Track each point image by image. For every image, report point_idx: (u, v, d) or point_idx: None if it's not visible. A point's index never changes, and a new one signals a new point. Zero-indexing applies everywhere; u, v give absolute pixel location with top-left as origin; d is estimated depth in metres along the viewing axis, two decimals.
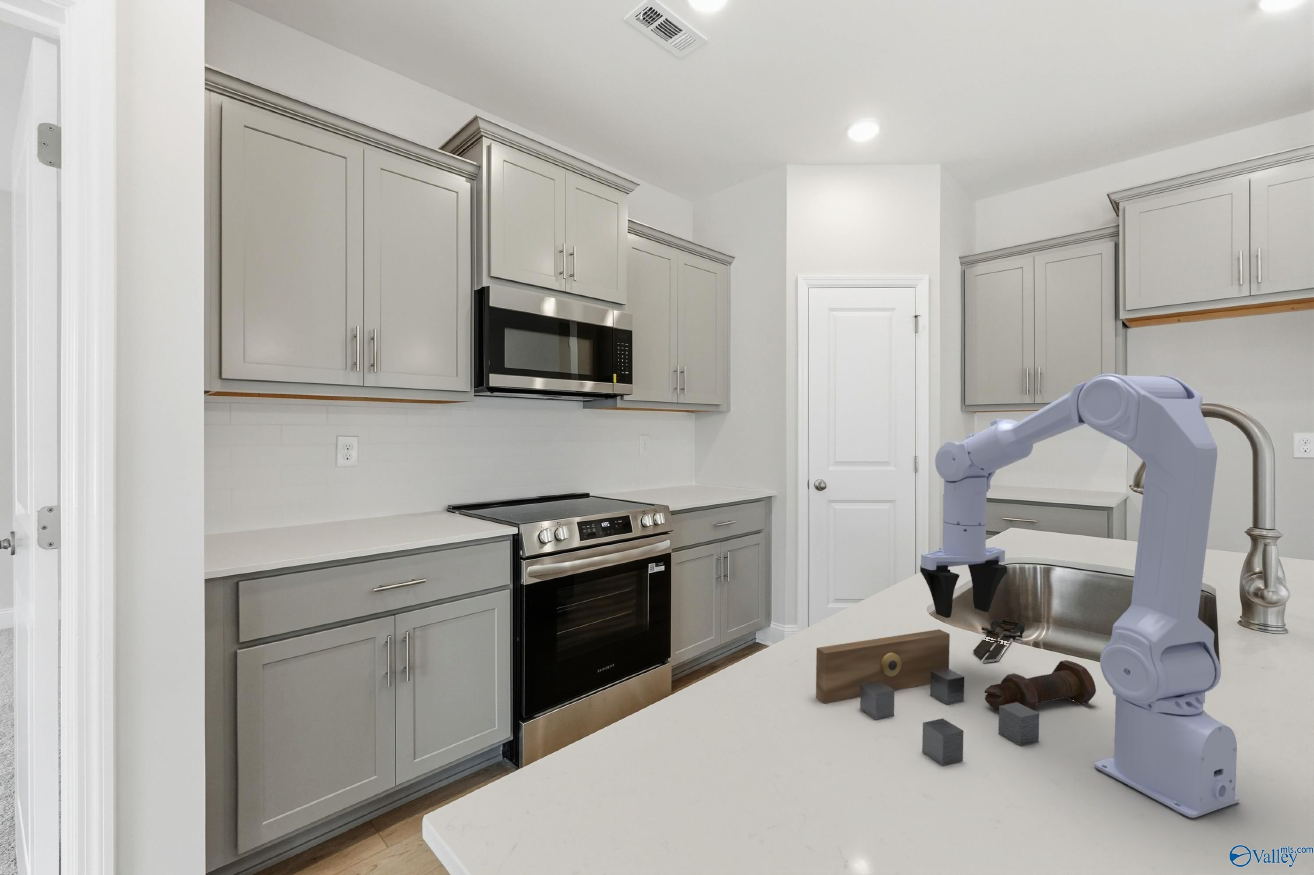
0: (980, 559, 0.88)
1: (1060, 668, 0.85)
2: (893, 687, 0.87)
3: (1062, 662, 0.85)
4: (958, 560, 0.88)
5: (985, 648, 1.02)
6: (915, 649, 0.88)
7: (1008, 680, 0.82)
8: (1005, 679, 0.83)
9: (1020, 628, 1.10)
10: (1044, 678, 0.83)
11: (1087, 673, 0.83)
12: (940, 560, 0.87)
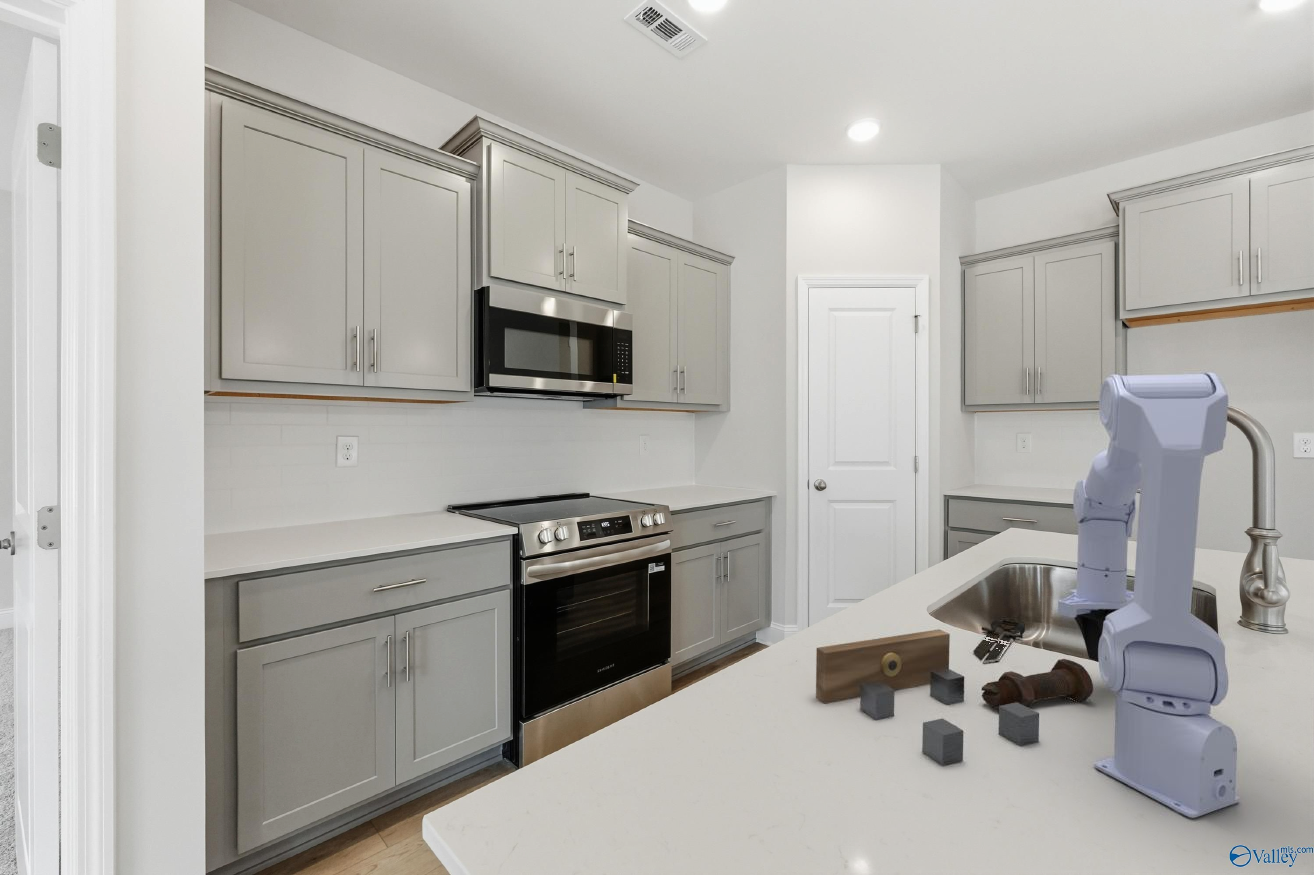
0: (1122, 606, 0.84)
1: (1058, 667, 0.86)
2: (893, 687, 0.87)
3: (1060, 661, 0.86)
4: (1099, 607, 0.84)
5: (985, 648, 1.02)
6: (915, 649, 0.88)
7: (1005, 678, 0.83)
8: (1002, 677, 0.83)
9: (1020, 628, 1.10)
10: (1041, 676, 0.83)
11: (1085, 672, 0.83)
12: (1081, 607, 0.83)
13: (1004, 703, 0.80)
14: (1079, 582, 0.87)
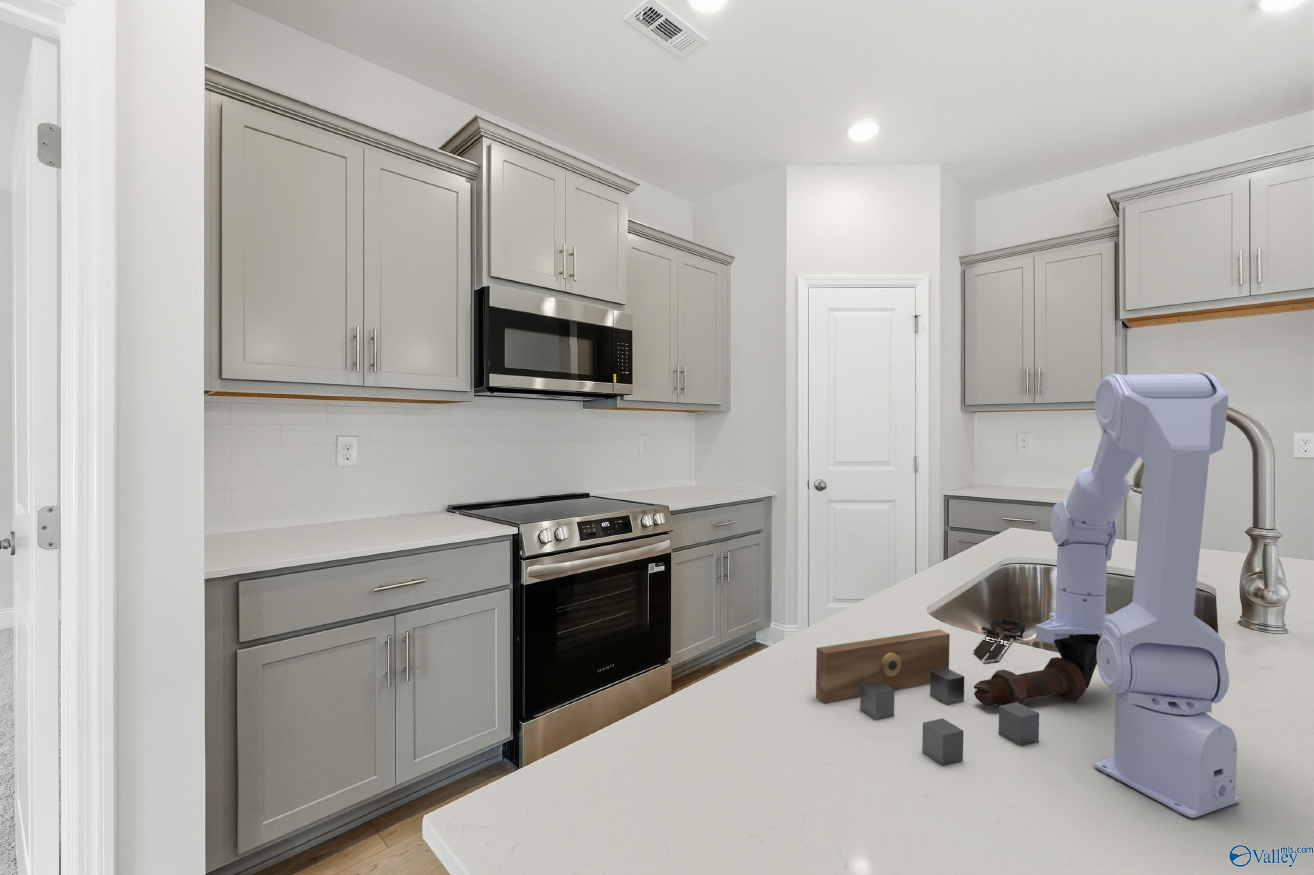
0: (1101, 631, 0.82)
1: (1051, 665, 0.86)
2: (893, 687, 0.87)
3: (1053, 659, 0.86)
4: (1078, 632, 0.82)
5: (985, 648, 1.02)
6: (915, 649, 0.88)
7: (997, 676, 0.83)
8: (995, 675, 0.83)
9: (1020, 628, 1.10)
10: (1034, 674, 0.83)
11: (1077, 670, 0.83)
12: (1058, 632, 0.82)
13: (996, 701, 0.80)
14: (1058, 606, 0.86)
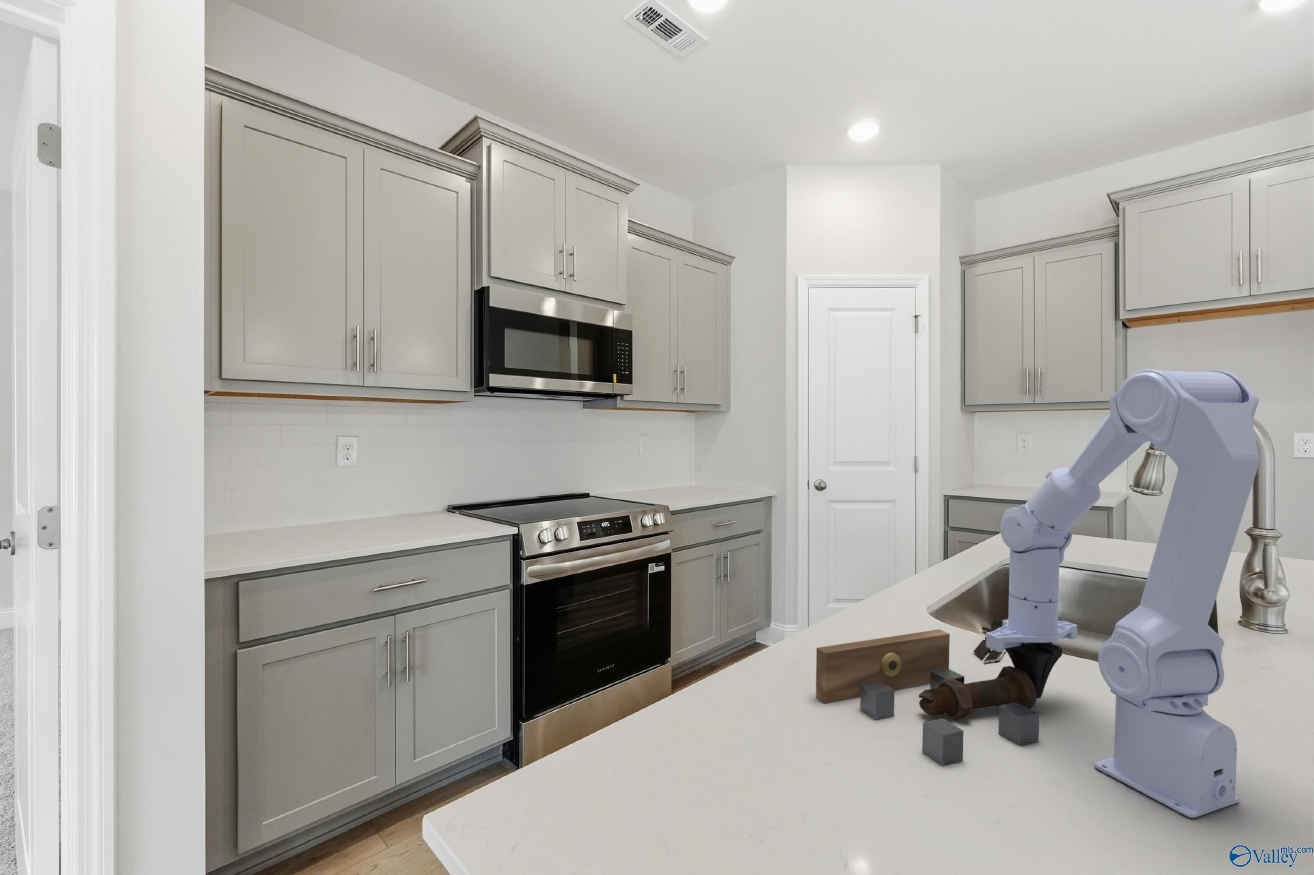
0: (1053, 639, 0.79)
1: (1003, 674, 0.83)
2: (893, 687, 0.87)
3: (1005, 668, 0.83)
4: (1028, 641, 0.79)
5: (986, 648, 1.02)
6: (915, 649, 0.88)
7: (944, 685, 0.80)
8: (941, 684, 0.80)
9: None
10: (982, 684, 0.80)
11: (1028, 680, 0.80)
12: (1008, 641, 0.79)
13: (940, 711, 0.77)
14: (1010, 613, 0.82)
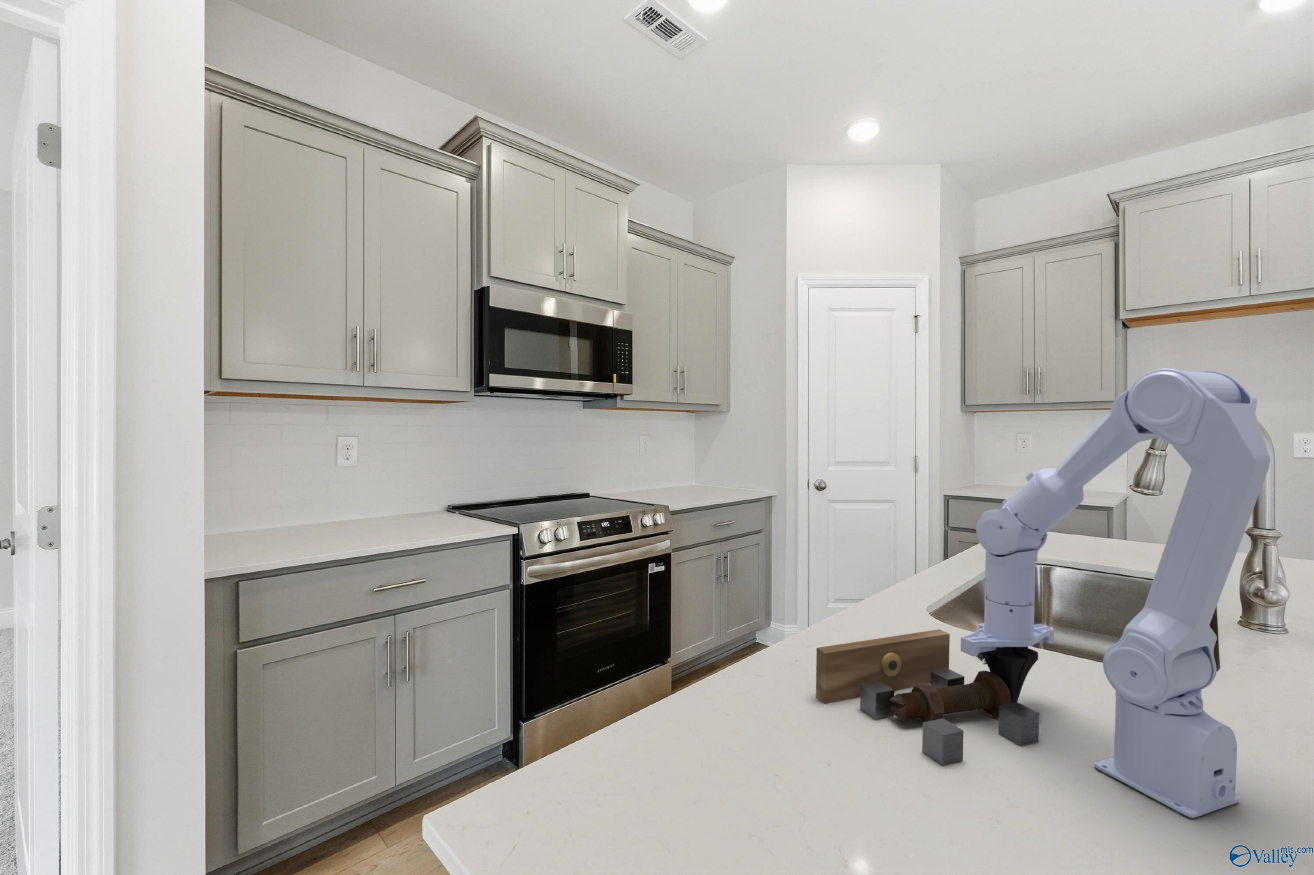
0: (1028, 644, 0.78)
1: (979, 679, 0.81)
2: (893, 687, 0.87)
3: (980, 672, 0.81)
4: (1003, 645, 0.77)
5: None
6: (915, 649, 0.88)
7: (916, 689, 0.79)
8: (914, 688, 0.79)
9: None
10: (956, 688, 0.79)
11: (1003, 685, 0.78)
12: (983, 645, 0.77)
13: (911, 716, 0.76)
14: (985, 616, 0.81)
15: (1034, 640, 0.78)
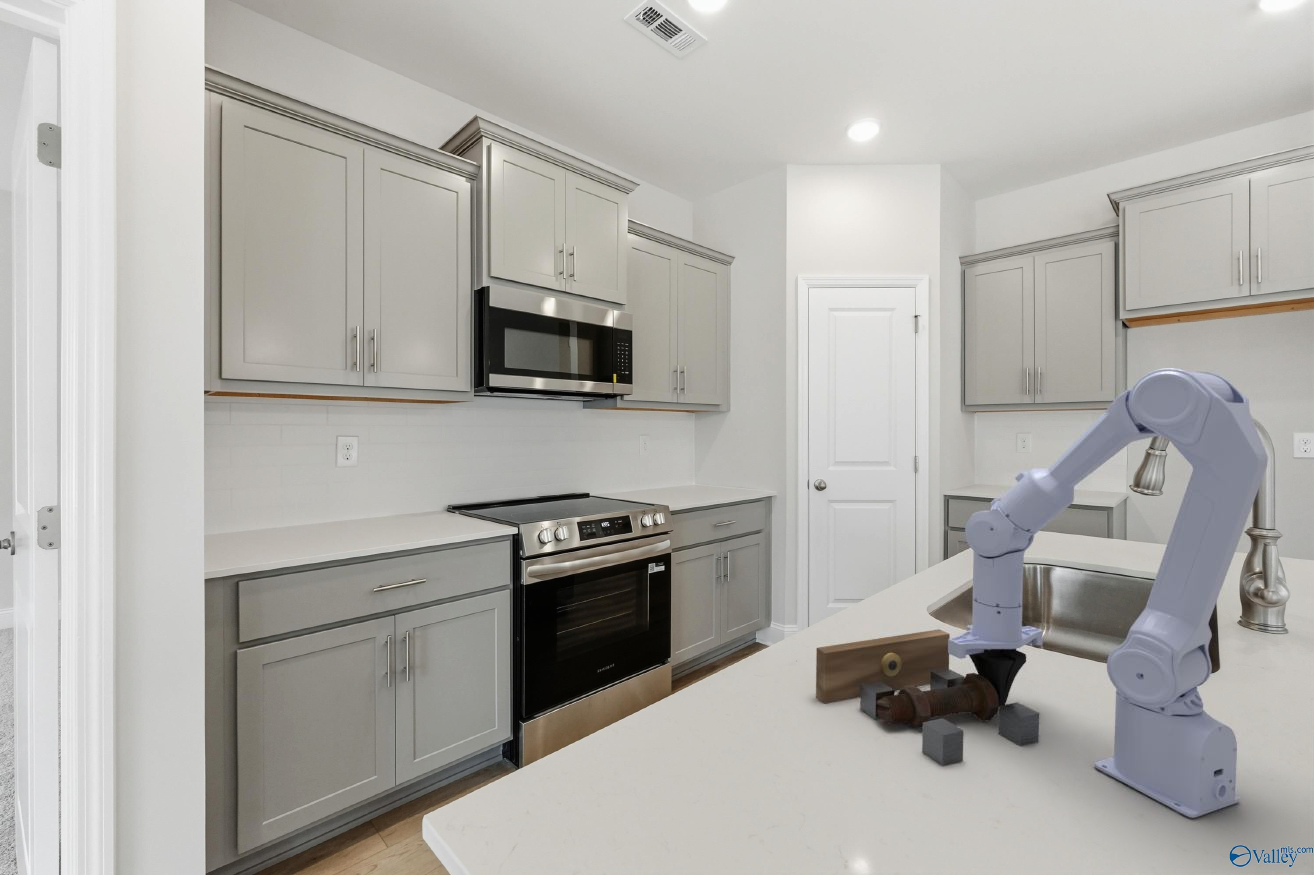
0: (1016, 646, 0.77)
1: (966, 681, 0.81)
2: (893, 687, 0.87)
3: (968, 675, 0.80)
4: (991, 647, 0.77)
5: None
6: (915, 649, 0.88)
7: (903, 692, 0.78)
8: (901, 691, 0.78)
9: None
10: (943, 691, 0.78)
11: (991, 687, 0.78)
12: (970, 647, 0.77)
13: (897, 719, 0.75)
14: (973, 618, 0.80)
15: (1022, 642, 0.78)
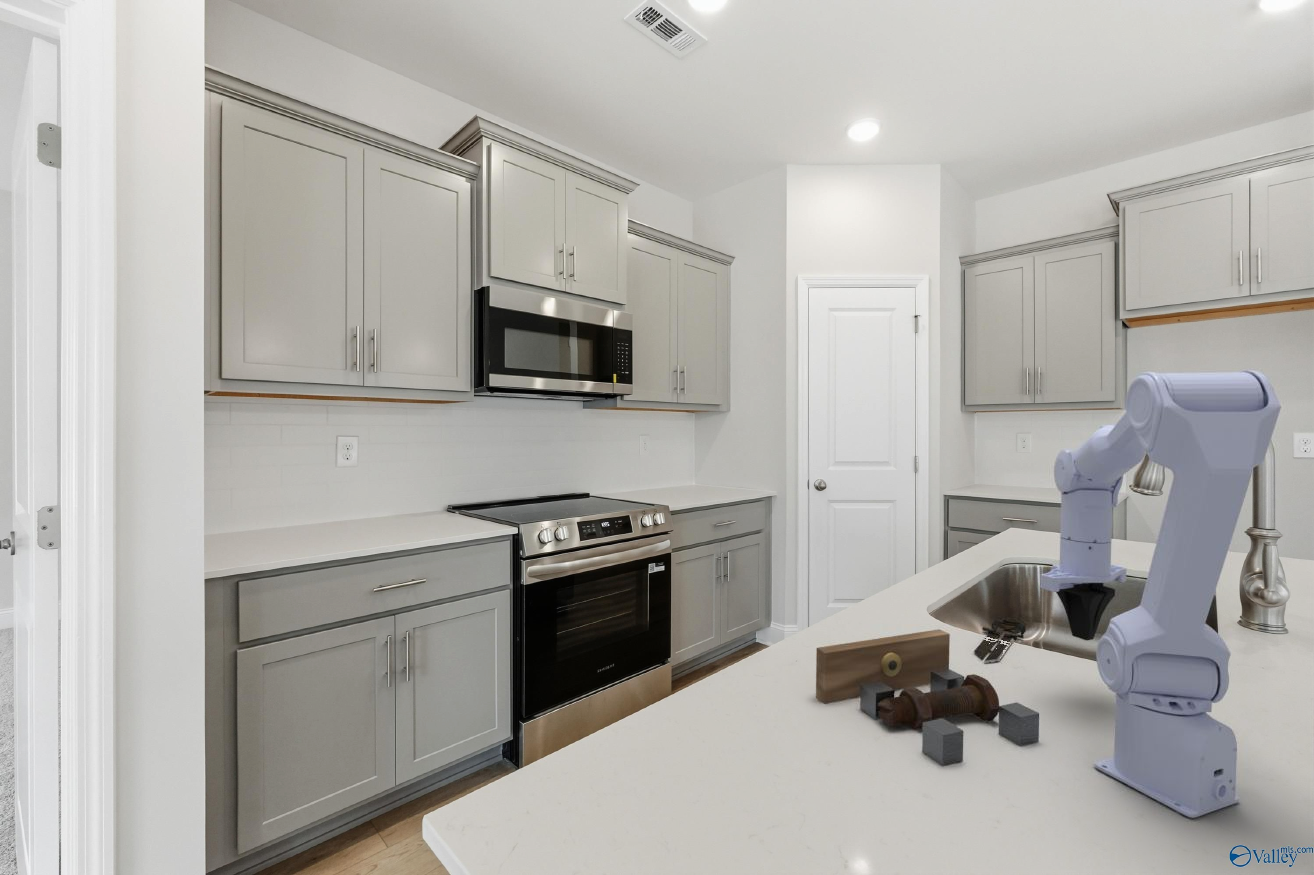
0: (1107, 580, 0.80)
1: (967, 682, 0.81)
2: (893, 687, 0.87)
3: (969, 676, 0.81)
4: (1083, 581, 0.80)
5: (986, 648, 1.02)
6: (915, 649, 0.88)
7: (904, 694, 0.78)
8: (902, 692, 0.78)
9: (1021, 628, 1.10)
10: (944, 693, 0.78)
11: (991, 689, 0.78)
12: (1064, 581, 0.80)
13: (899, 721, 0.75)
14: (1062, 556, 0.83)
15: (1111, 577, 0.81)
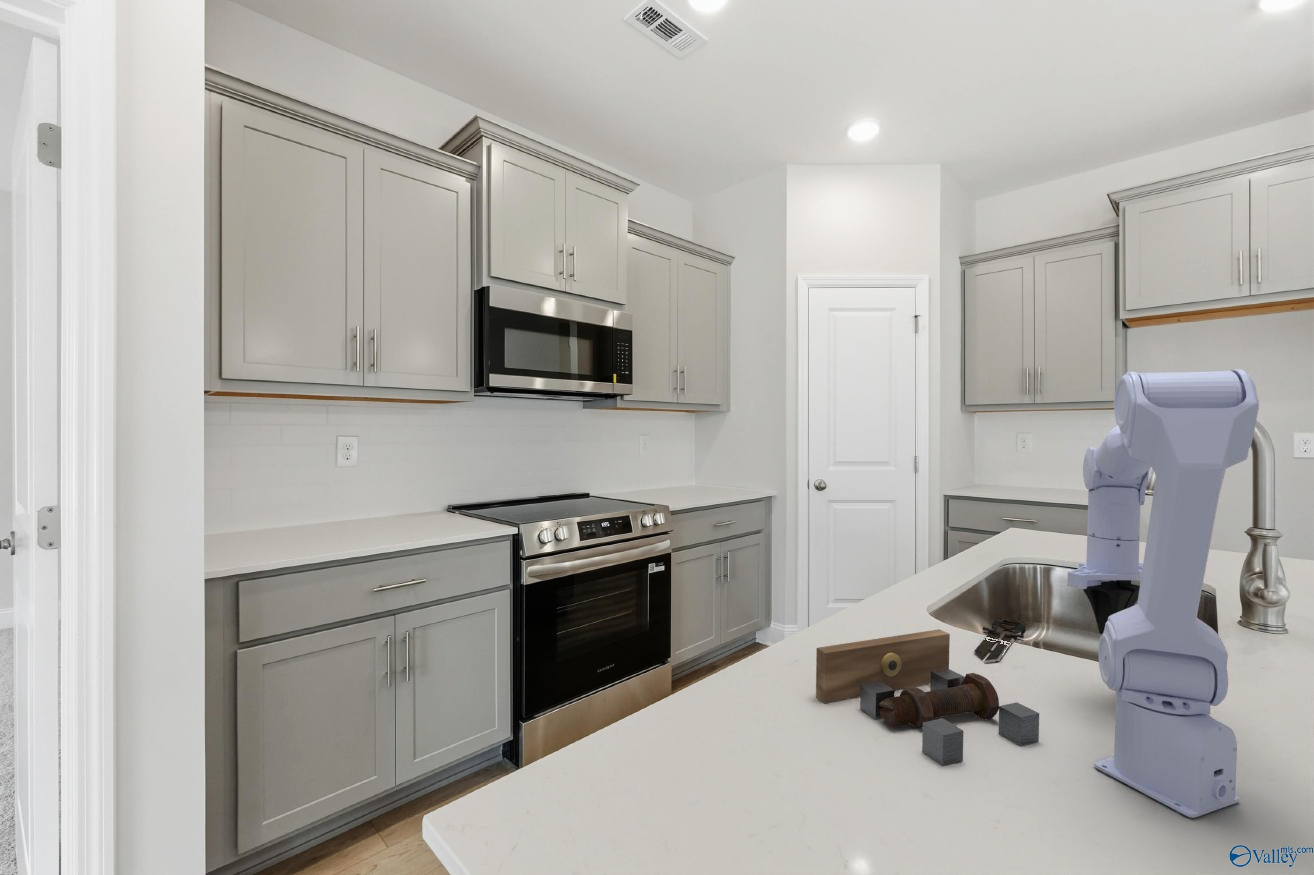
0: (1135, 577, 0.80)
1: (966, 681, 0.81)
2: (893, 687, 0.87)
3: (968, 675, 0.81)
4: (1111, 578, 0.80)
5: (986, 648, 1.02)
6: (915, 649, 0.88)
7: (905, 693, 0.78)
8: (903, 692, 0.79)
9: (1021, 628, 1.10)
10: (944, 691, 0.78)
11: (991, 687, 0.78)
12: (1091, 578, 0.80)
13: (900, 720, 0.76)
14: (1089, 553, 0.83)
15: (1140, 574, 0.80)
